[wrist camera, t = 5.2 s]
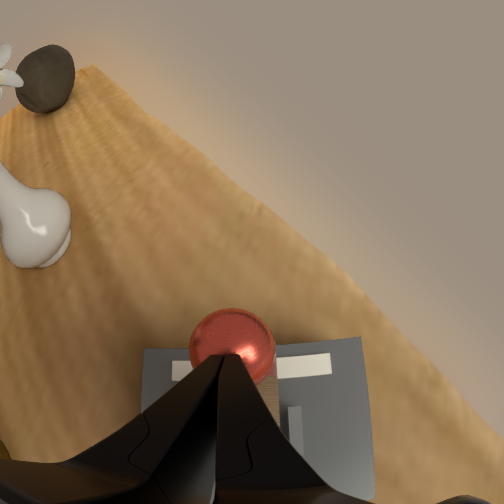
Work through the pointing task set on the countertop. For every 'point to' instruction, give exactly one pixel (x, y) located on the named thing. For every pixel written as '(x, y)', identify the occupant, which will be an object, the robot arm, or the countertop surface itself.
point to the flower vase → (30, 208)
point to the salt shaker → (3, 452)
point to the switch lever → (240, 348)
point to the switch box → (304, 406)
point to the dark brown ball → (46, 79)
